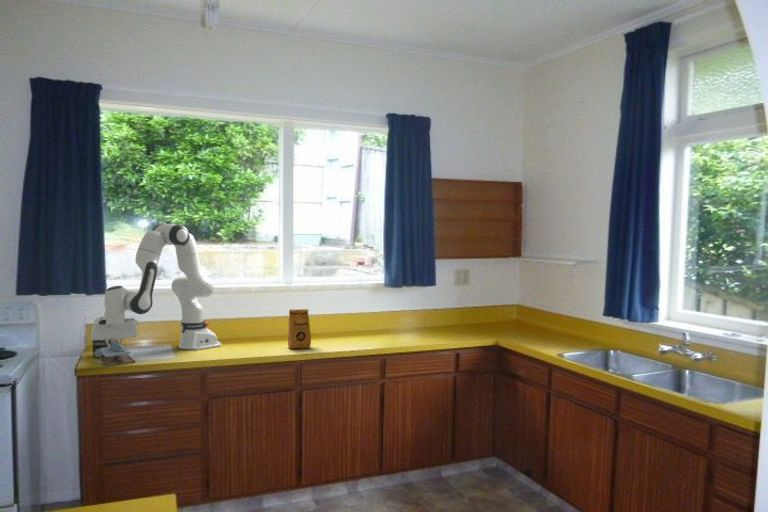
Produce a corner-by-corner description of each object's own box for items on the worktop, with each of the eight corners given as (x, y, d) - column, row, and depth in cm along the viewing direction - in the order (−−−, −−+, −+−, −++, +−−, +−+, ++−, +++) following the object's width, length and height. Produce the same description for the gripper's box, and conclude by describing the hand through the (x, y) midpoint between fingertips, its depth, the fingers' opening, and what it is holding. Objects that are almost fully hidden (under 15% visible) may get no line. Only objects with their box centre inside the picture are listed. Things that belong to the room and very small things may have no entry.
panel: (123, 348, 276) (123, 338, 275) (130, 354, 264) (130, 343, 263) (99, 351, 269) (99, 340, 269) (105, 356, 257) (105, 346, 257)
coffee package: (311, 349, 303) (312, 310, 302) (288, 350, 300) (289, 310, 298) (309, 345, 312) (309, 307, 311) (287, 346, 309) (287, 307, 308)
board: (127, 356, 278) (127, 346, 277) (135, 363, 265) (135, 352, 265) (101, 359, 270) (101, 348, 270) (107, 366, 258) (107, 355, 257)
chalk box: (118, 353, 284) (118, 325, 283) (111, 357, 275) (110, 328, 274) (100, 353, 283) (100, 325, 282) (92, 357, 274) (91, 328, 273)
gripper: (135, 316, 274) (135, 344, 275) (90, 320, 262) (90, 348, 263) (138, 318, 269) (138, 346, 270) (92, 322, 257) (92, 351, 258)
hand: (114, 347), depth 266 cm, fingers closed on panel, 3 cm apart
